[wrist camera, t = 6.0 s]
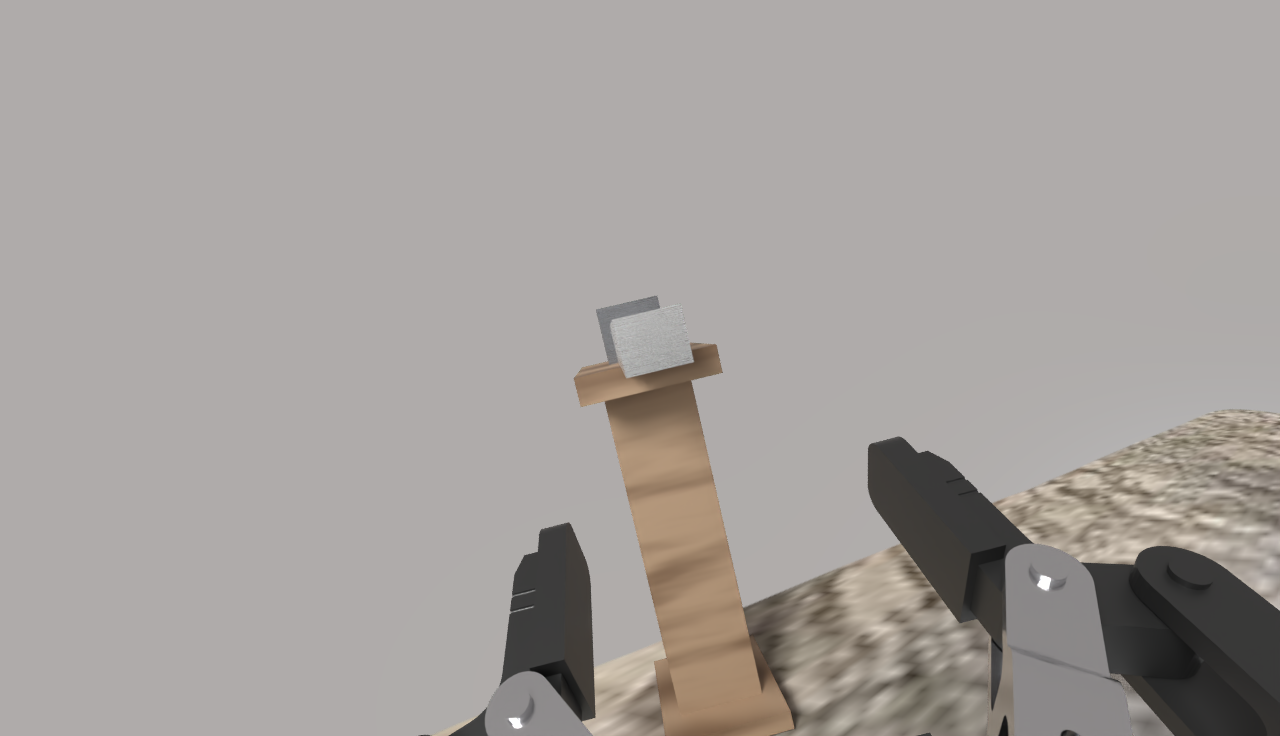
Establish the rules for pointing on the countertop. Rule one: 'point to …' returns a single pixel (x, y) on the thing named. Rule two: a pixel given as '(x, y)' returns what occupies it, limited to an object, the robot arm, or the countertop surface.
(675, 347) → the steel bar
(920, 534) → the robot arm
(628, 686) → the countertop surface
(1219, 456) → the countertop surface
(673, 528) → the wooden pedestal
